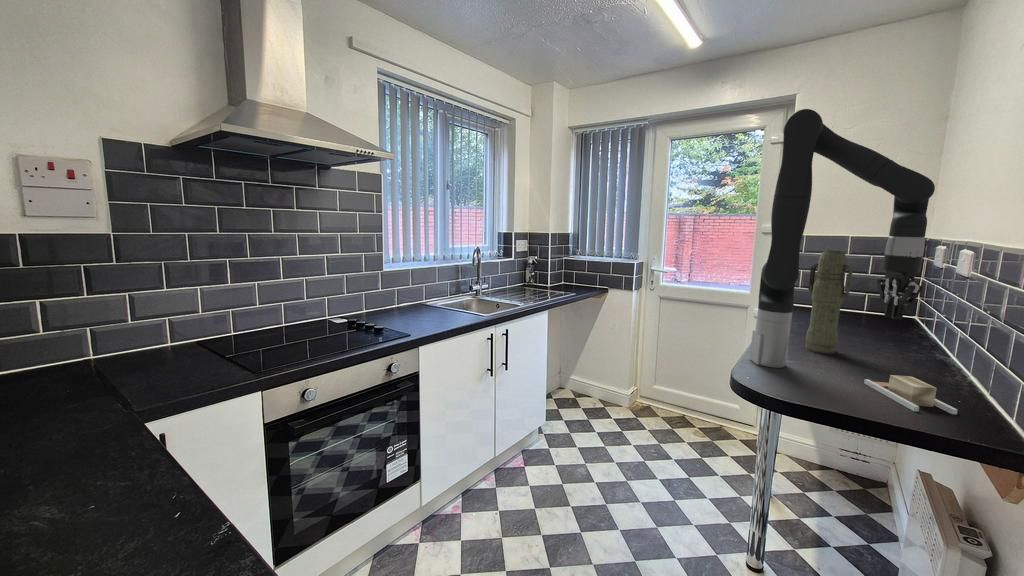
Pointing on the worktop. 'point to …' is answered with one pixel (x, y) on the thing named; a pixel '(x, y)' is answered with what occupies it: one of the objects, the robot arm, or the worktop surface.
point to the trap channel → (906, 403)
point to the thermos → (827, 301)
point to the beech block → (912, 390)
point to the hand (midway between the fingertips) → (892, 317)
